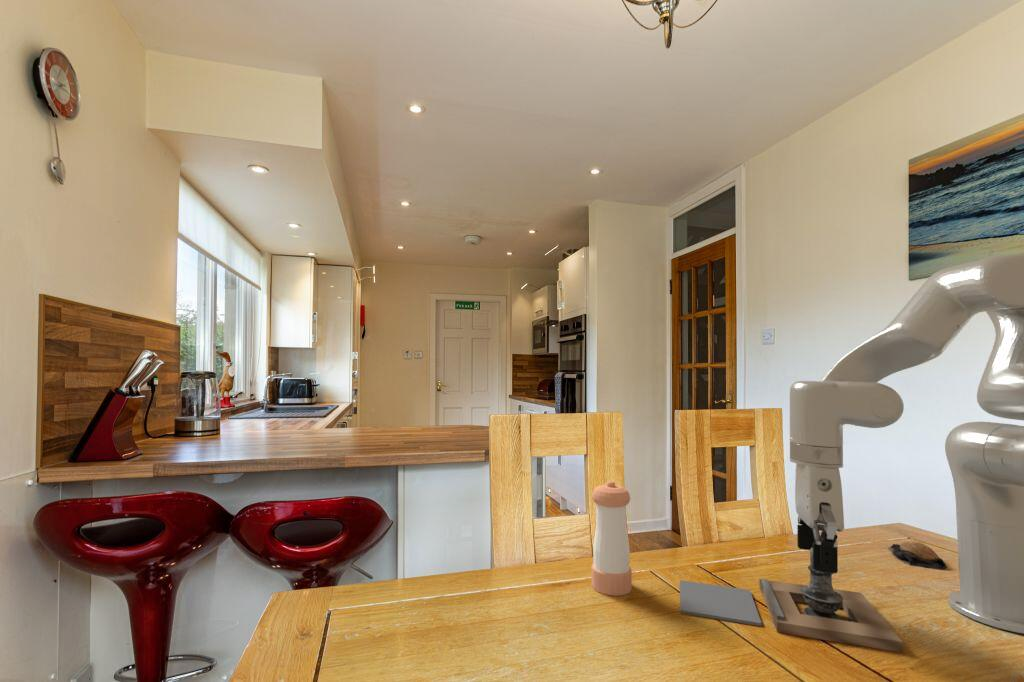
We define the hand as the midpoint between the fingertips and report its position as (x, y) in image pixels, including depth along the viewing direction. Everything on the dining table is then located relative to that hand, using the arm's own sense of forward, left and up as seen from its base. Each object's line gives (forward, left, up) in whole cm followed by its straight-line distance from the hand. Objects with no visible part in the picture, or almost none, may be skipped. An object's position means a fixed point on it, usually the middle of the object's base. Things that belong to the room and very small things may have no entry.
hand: (816, 559), depth 78 cm
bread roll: (-27, -35, -10) cm, 46 cm away
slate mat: (+15, +1, -9) cm, 18 cm away
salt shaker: (-1, 0, -9) cm, 9 cm away
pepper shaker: (+33, +1, -9) cm, 35 cm away
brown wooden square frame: (-1, 0, -9) cm, 9 cm away
